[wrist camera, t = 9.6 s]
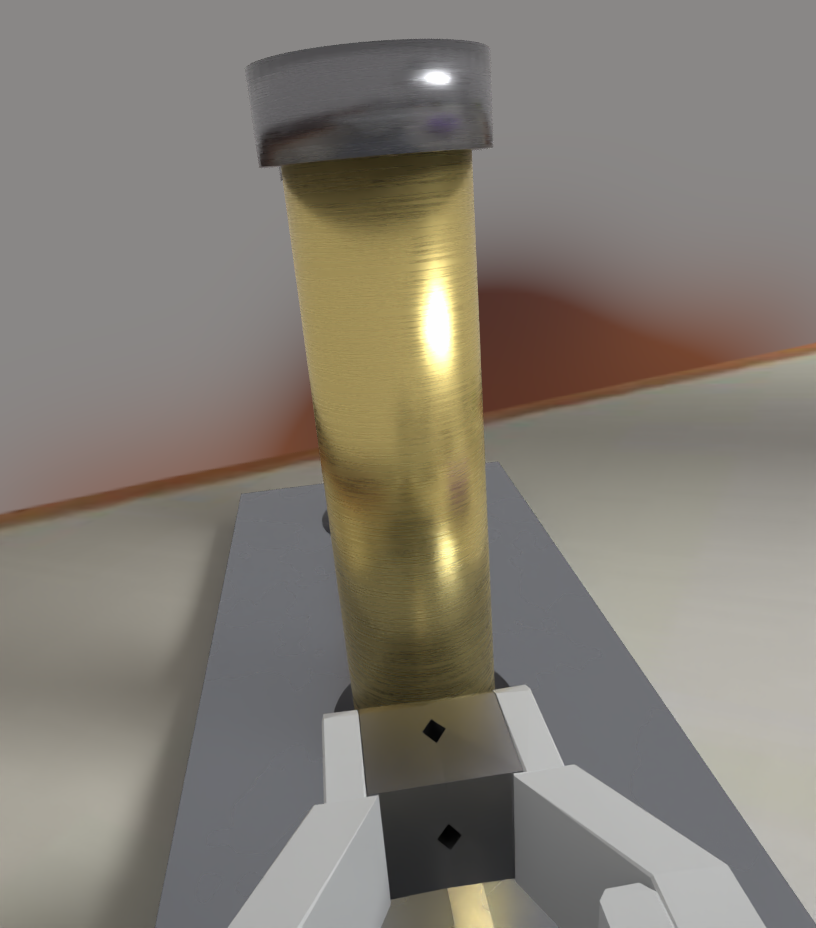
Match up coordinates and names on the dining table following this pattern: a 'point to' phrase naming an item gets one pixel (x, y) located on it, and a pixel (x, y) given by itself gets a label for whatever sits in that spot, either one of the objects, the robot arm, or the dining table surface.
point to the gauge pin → (392, 343)
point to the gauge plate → (329, 691)
